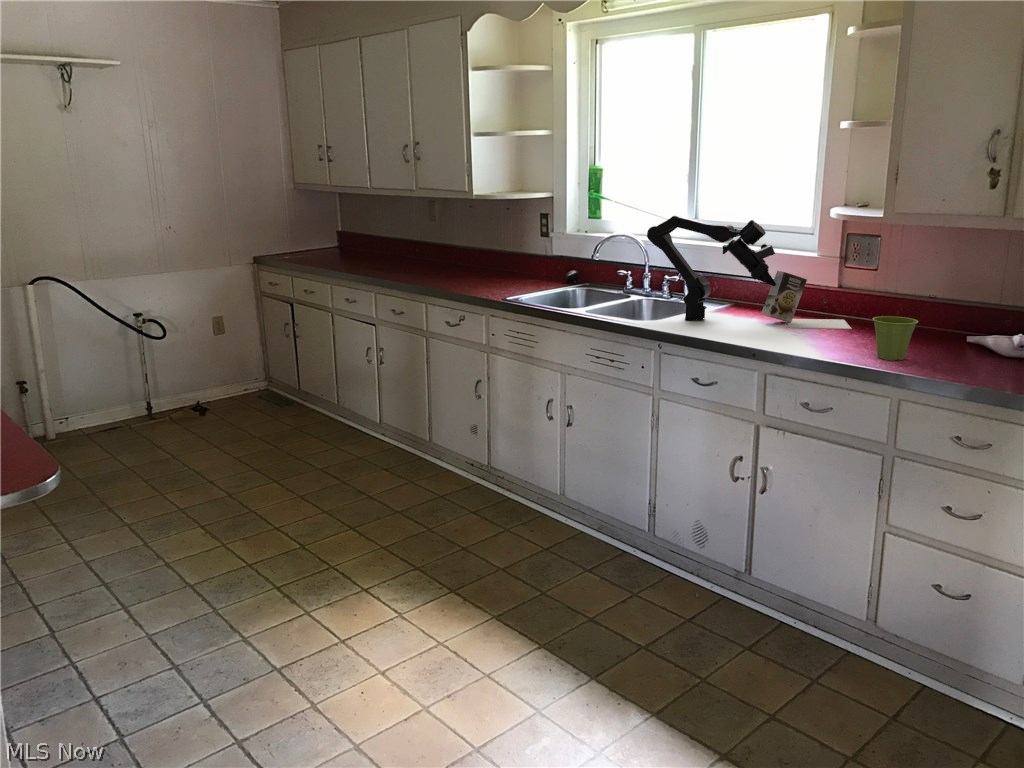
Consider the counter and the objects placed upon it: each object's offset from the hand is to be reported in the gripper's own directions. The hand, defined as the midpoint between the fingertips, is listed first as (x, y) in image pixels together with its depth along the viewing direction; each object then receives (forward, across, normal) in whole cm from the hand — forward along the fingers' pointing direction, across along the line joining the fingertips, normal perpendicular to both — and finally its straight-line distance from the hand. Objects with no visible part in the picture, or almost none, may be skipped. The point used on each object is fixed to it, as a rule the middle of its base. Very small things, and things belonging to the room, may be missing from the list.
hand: (775, 285), depth 283 cm
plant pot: (+30, -50, -10) cm, 59 cm away
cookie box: (+9, 0, +8) cm, 12 cm away
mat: (+20, 0, -1) cm, 20 cm away
